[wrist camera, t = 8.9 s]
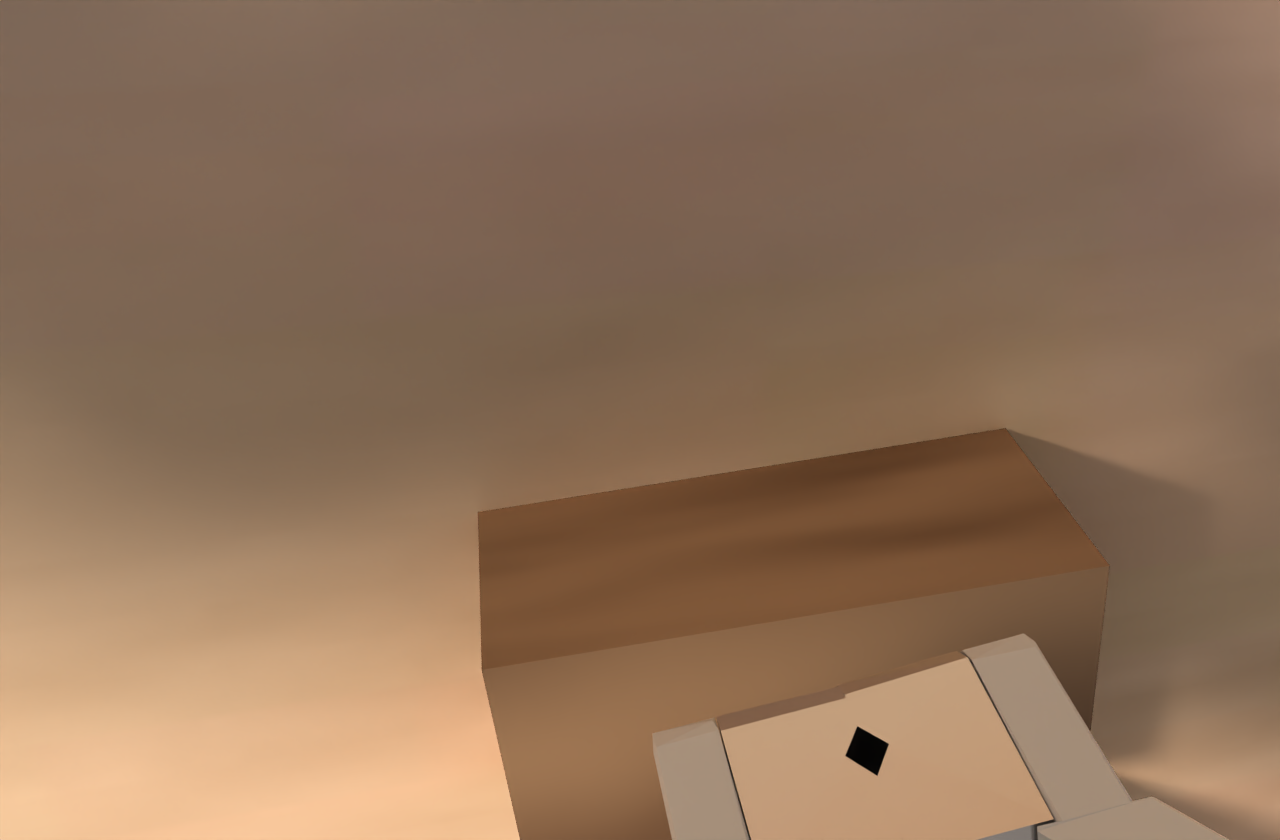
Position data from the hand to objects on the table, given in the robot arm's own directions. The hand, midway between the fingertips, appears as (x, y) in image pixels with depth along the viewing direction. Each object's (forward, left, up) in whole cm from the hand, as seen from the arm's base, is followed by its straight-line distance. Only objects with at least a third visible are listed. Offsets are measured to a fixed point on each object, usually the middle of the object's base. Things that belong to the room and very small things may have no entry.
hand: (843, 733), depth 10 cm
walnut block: (+11, 0, -14) cm, 18 cm away
